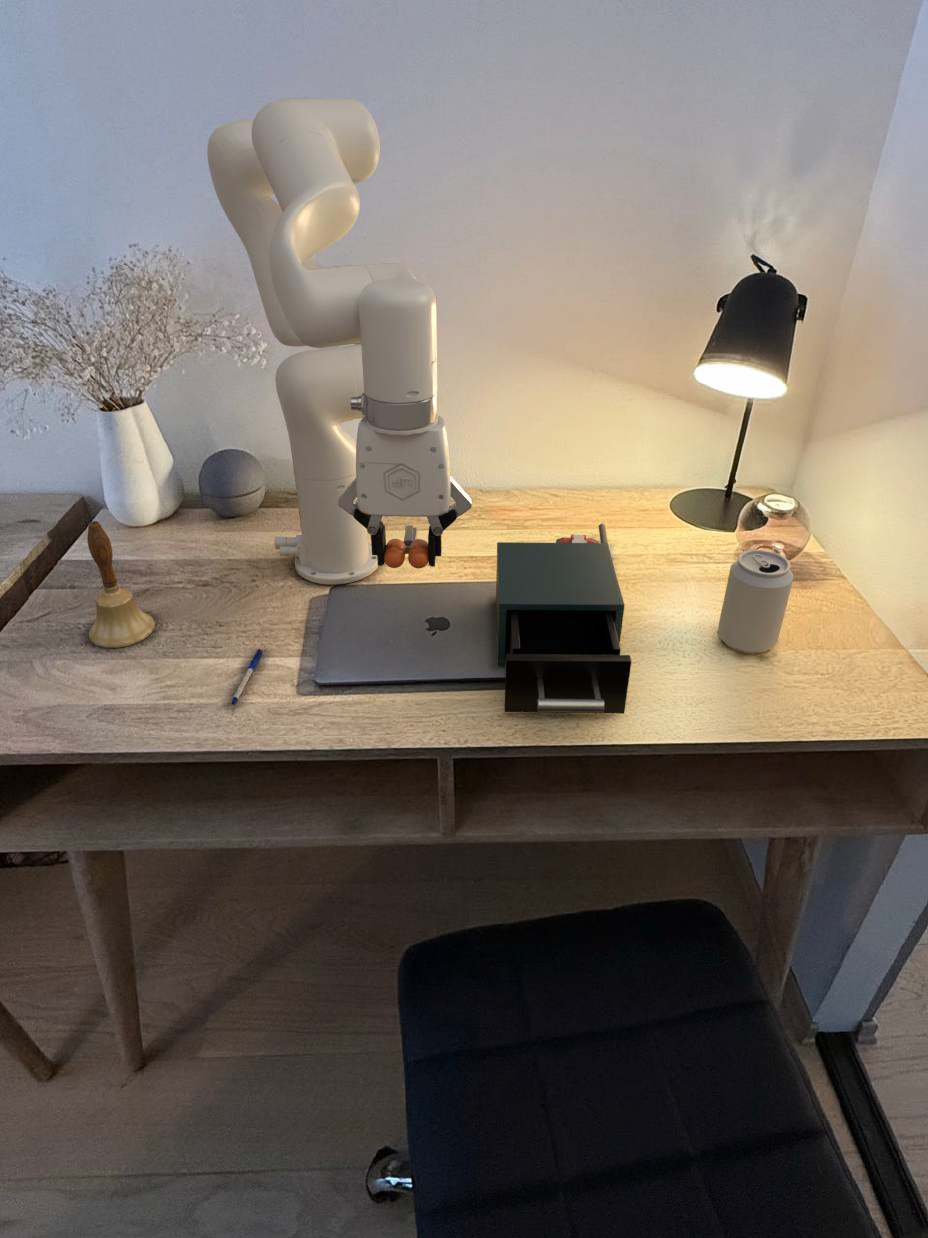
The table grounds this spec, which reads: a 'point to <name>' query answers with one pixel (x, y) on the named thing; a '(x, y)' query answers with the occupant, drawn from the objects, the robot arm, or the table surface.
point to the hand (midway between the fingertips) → (407, 558)
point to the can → (755, 601)
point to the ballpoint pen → (247, 675)
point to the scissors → (407, 550)
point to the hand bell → (114, 601)
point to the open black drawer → (564, 663)
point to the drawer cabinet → (554, 582)
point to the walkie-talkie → (588, 539)
